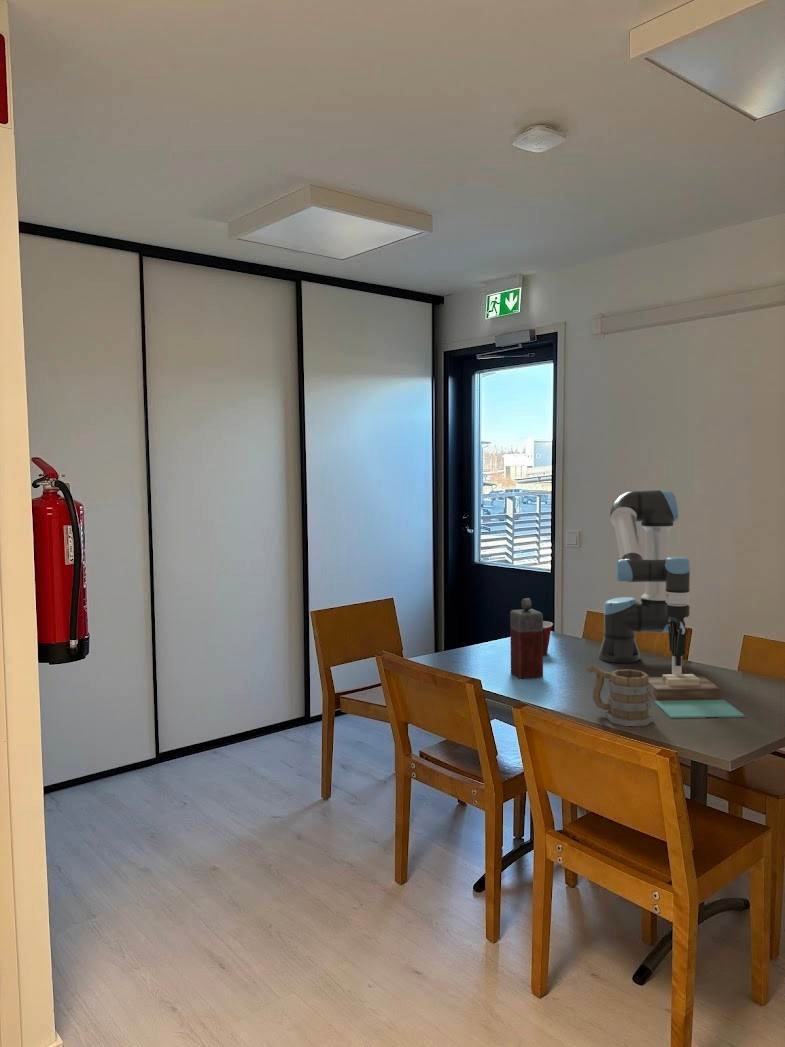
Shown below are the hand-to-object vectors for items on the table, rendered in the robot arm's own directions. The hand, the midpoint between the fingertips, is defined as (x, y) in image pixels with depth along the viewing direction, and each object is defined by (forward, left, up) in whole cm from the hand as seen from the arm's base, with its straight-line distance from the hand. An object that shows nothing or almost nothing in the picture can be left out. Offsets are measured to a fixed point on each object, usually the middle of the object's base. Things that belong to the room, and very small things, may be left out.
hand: (676, 674), depth 271 cm
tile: (+4, 0, -2) cm, 4 cm away
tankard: (+26, -26, -6) cm, 37 cm away
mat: (+19, 0, -6) cm, 20 cm away
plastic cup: (-56, -36, -6) cm, 67 cm away
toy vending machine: (-23, -45, -6) cm, 51 cm away
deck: (+4, 0, -6) cm, 7 cm away
